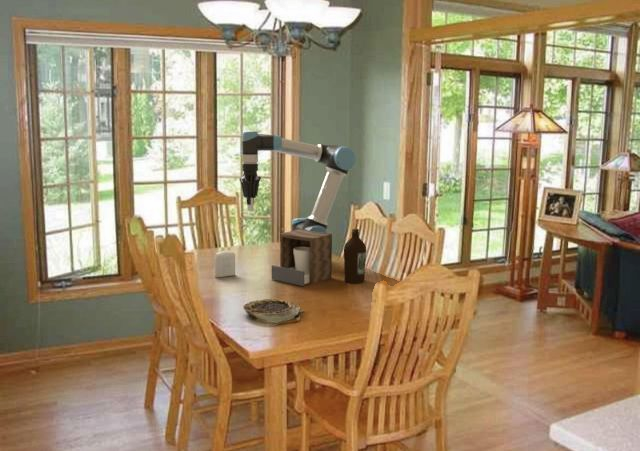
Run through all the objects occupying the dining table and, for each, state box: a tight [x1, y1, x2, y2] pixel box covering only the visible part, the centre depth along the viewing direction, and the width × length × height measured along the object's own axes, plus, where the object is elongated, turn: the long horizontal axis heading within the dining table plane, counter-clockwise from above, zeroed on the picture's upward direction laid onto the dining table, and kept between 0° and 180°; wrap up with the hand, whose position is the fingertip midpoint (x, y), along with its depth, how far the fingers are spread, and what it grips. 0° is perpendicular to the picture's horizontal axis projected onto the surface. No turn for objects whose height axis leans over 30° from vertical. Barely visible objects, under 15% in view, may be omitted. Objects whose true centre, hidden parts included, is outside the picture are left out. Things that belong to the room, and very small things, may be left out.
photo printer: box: [214, 250, 236, 278], centre depth 317 cm, size 10×4×12 cm, turn 123°
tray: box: [271, 265, 310, 287], centre depth 313 cm, size 20×19×7 cm
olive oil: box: [343, 228, 367, 284], centre depth 309 cm, size 11×11×25 cm
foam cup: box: [293, 247, 310, 275], centre depth 314 cm, size 10×9×13 cm
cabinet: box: [279, 229, 333, 285], centre depth 315 cm, size 15×19×22 cm
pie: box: [243, 298, 304, 327], centre depth 258 cm, size 28×27×5 cm
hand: (250, 211), depth 323 cm, fingers closed
